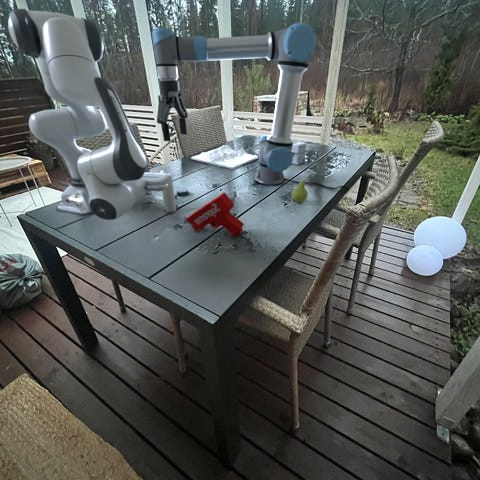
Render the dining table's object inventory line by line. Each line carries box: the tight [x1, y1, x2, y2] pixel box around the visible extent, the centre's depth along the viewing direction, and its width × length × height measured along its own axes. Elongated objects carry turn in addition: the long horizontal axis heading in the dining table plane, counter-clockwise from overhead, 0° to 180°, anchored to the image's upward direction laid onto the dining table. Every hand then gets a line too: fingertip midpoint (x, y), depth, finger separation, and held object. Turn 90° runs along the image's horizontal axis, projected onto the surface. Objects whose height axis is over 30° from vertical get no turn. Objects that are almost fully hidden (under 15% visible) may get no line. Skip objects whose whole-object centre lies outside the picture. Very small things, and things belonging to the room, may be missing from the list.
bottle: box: [161, 172, 177, 213], centre depth 112 cm, size 5×5×16 cm
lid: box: [176, 187, 189, 198], centre depth 129 cm, size 5×5×2 cm
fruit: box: [291, 174, 311, 204], centre depth 118 cm, size 7×8×12 cm
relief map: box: [190, 144, 259, 170], centre depth 177 cm, size 27×35×5 cm
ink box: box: [291, 141, 308, 166], centre depth 167 cm, size 8×5×12 cm, turn 135°
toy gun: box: [186, 192, 245, 238], centre depth 98 cm, size 18×4×15 cm
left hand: (150, 172), depth 95 cm, fingers open, 8 cm apart
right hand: (176, 137), depth 116 cm, fingers open, 13 cm apart
